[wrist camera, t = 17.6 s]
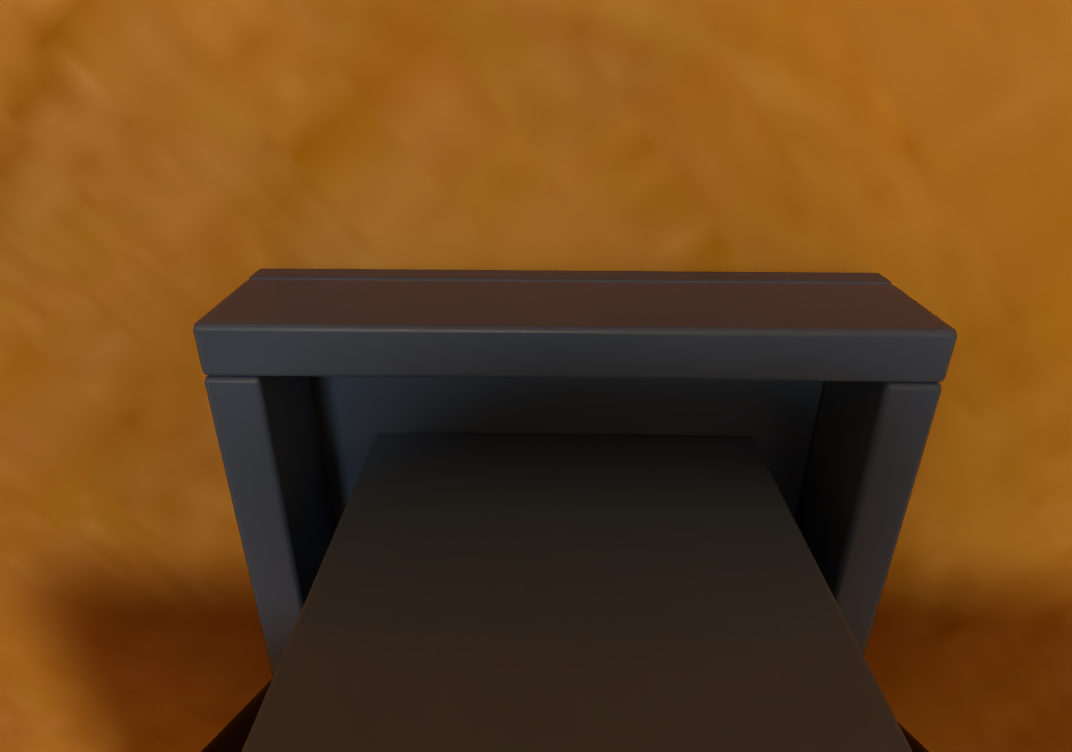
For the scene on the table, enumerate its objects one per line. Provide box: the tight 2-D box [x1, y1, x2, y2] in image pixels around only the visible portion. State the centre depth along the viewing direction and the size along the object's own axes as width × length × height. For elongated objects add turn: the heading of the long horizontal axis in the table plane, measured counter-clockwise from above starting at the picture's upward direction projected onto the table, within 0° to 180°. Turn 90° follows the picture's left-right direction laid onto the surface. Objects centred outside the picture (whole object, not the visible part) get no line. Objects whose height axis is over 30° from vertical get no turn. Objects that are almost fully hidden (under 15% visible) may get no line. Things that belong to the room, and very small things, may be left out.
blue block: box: [242, 433, 913, 752], centre depth 8 cm, size 5×5×5 cm
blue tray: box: [193, 269, 957, 677], centre depth 10 cm, size 9×8×2 cm
